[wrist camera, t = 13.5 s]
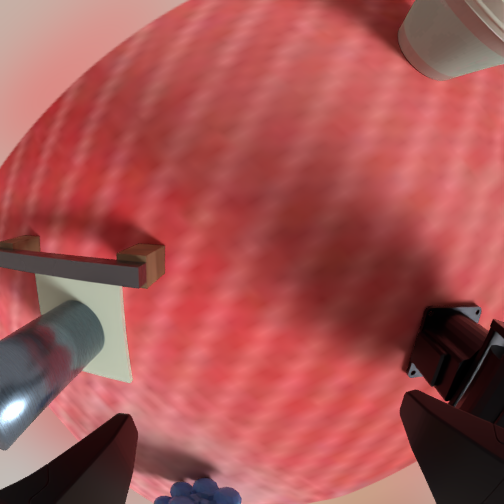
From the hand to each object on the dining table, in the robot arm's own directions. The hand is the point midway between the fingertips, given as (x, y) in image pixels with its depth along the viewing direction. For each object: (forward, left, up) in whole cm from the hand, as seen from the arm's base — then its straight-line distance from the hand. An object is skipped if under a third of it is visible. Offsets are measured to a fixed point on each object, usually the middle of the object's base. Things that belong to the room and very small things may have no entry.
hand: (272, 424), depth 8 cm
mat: (+15, +5, -13) cm, 20 cm away
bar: (+14, -2, -9) cm, 17 cm away
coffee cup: (-12, -20, -13) cm, 27 cm away
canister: (+15, +5, -12) cm, 20 cm away
